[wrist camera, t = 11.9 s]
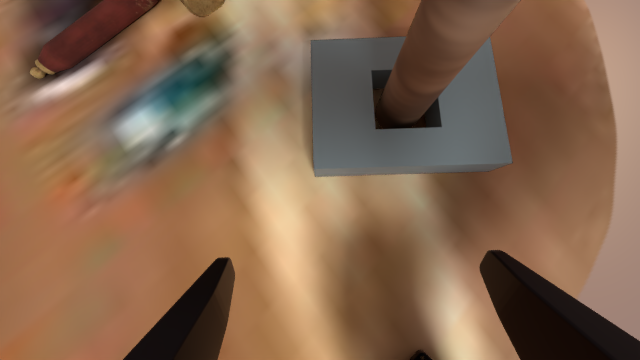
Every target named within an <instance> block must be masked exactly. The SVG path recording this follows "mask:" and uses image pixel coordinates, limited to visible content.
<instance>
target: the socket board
mask: <svg viewBox="0 0 640 360" xmlns="http://www.w3.org/2000/svg"><path fill="white" fill-rule="evenodd" d="M405 38H406V37H382V38H357V39H333V40H311V73H312V118H313V163H314V173H315V177H322V176H354V175H387V174H420V173H452V172H485V171H491V170H494V169H497V168H500V167H503V166H506V165H508V164H511V163H513V162H512V156H511V151H510V145H509V140H508V134H507V129H506V123H505V117H504V112H503V106H502V101H501V95H500V90H499V84H498V79H497V73H496V67H495V62H494V56H493V51H492V45H491V40H490V37H489V38H488V39H487V40H486V42H485V43H484V44H483V45H482V46H481V47H480V49H479V50H478V51H477V52H476V53H475V54H474V56H473V57H472V58H471V59H470V60H469V61H468V63H467V64H466V65H465V66H464V67H463V68H462V70H461V71H460V72H459V73H458V74H457V75H456V77H455V78H454V79H453V80H452V81H451V83H450V84H449V85H448V86H447V87H446V88H445V90H444V91H443V92H442V93H441V94H440V95H439V97H438V98H437V99H436V100H435V101H434V102H433V104H432V105H431V106H430V107H429V108H428V109H427V111H426V112H425V122H426V128H402V129H376V128H375V115H374V101H373V89H382V88H385V86H386V84H387V81H388V79H389V76H390V74H391V72H392V69H393V67H394V64H395V62H396V60H397V57H398V55H399V53H400V50H401V48H402V45H403V43H404V41H405Z"/></svg>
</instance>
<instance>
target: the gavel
mask: <svg viewBox="0 0 640 360" xmlns="http://www.w3.org/2000/svg"><path fill="white" fill-rule="evenodd" d="M157 2H158V0H103V1H102V2H101V3H99V4H98V5H97V6H95V7H94V8H93V9H91V10H90V11H89V12H87V13H86V14H85V15H83V16H82V17H81V18H79V19H78V20H77V21H75V22H74V23H73V24H71V25H70V26H69V27H67V28H66V29H65V30H63V31H62V32H61V33H60V34H58V35H57V36H56V37H54V38H53V39H52V40H50V41H49V42H48V43H46V44H45V45H44V46H43V49H42V51H41V53H40V55H39V58H38V59H37V60H36V61H35V64H36V65H37V67H34V68H32V69H31V70H30V73H31V74H32V75H33V76H34V77H36V78H43V77H45V75H46V73H48V74H55V73H56V72H60V71H63V70H67V69H70V68H73V67H74V66H75V65H77V64H78V63H80V62H81V61H82V60H84V59H85V58H86V57H88V56H89V55H90V54H92V53H93V52H94V51H96V50H97V49H98V48H100V47H101V46H102V45H104V44H105V43H106V42H107V41H109V40H110V39H111V38H113V37H114V36H115V35H117V34H118V33H119V32H121V31H122V30H123V29H124V28H126V27H127V26H128V25H130V24H131V23H132V22H134V21H135V20H136V19H138V18H139V17H140V16H141V15H143V14H144V13H145V12H147V11H148V10H149V9H151V8H152V7H153V6H154V5H155V4H156V3H157ZM181 2H182V3H183V4H184V5H185V6H186V7H187V9H188V10H189V11H190V12H191V13H193V14H194V15H196V16H199V17H205V16H208V15H209V14H211V13H212V12H214V11H215V10H217V9H218V8H220V7H221V6H222V4H223V3H224V0H181Z"/></svg>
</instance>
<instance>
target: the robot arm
mask: <svg viewBox="0 0 640 360" xmlns="http://www.w3.org/2000/svg"><path fill="white" fill-rule="evenodd" d="M480 273H481V275H482V278H483V280H484V283H485V285H486V288H487V290H488V293H489V295H490V298H491V300H492V303H493V305H494V308H495V310H496V312H497V315H498V317H499V319H500V321H501V323H502V325H503V327H504V329H505V331H506V333H507V335H508V336H509V338H510V340H511V342H512V344H513V346H514V348H515V350H516V352H517V354H518V356H519V358H520V360H640V341H639V340H637V339H636V338H634V337H633V336H631V335H629V334H628V333H627V332H625V331H623V330H622V329H620V328H619V327H617V326H616V325H614V324H613V323H611V322H610V321H608V320H607V319H605V318H604V317H602V316H601V315H599V314H598V313H596V312H595V311H593V310H592V309H590V308H589V307H587V306H585V305H584V304H582V303H581V302H579V301H578V300H576V299H575V298H573V297H572V296H570V295H569V294H567V293H566V292H564V291H563V290H561V289H560V288H558V287H557V286H555V285H554V284H552V283H551V282H549V281H548V280H546V279H544V278H543V277H541V276H540V275H538V274H537V273H535V272H534V271H532V270H531V269H529V268H528V267H526V266H525V265H523V264H522V263H520V262H519V261H517V260H516V259H514V258H513V257H511V256H510V255H508V254H507V253H505V252H503V251H501V250H489V251H487V253H486V254H485V256H484V258H483V260H482V262H481V263H480ZM234 281H235V271H234V268H233V264H232V261H231V259H230V258H228V257H224V258H217V259H216V260H215V261H214V262H213V263H212V264H211V265H210V266H209V267H208V268H207V270H206V271H205V272H204V273H203V274H202V275H201V276H200V277H199V278H198V279H197V280H196V281H195V282H194V284H193V285H192V286H191V287H190V288H189V289H188V290H187V291H186V292H185V293H184V294H183V295H182V296H181V298H180V299H179V300H178V301H177V302H176V303H175V304H174V305H173V306H172V307H171V308H170V309H169V310H168V311H167V313H166V314H165V315H164V316H163V317H162V318H161V319H160V320H159V321H158V322H157V323H156V324H155V325H154V327H153V328H152V329H151V330H150V331H149V332H148V333H147V334H146V335H145V336H144V337H143V338H142V339H141V341H140V342H139V343H138V344H137V345H136V346H135V347H134V348H133V349H132V350H131V351H130V352H129V353H128V354H127V356H126V357H125V358H124V359H123V360H218V356H219V353H220V349H221V345H222V342H223V338H224V334H225V331H226V327H227V323H228V317H229V311H230V305H231V299H232V293H233V287H234ZM421 356H424V360H432V359H431V358H430V357H429V356H428V354H427V353H426V352H424V351H422V350H419V351H417V352H416V353H415V354H414V355H413V357H412V358H411V359H410V360H420V357H421Z"/></svg>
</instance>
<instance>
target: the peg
mask: <svg viewBox="0 0 640 360" xmlns="http://www.w3.org/2000/svg"><path fill="white" fill-rule="evenodd" d="M520 1H521V0H421V3H420V5H419V7H418V10H417V12H416V14H415V17H414V19H413V22H412V24H411V26H410V29H409V31H408V33H407V36H406V38H405V41H404V43H403V45H402V48H401V50H400V53H399V55H398V57H397V60H396V62H395V64H394V67H393V69H392V72H391V74H390V76H389V79H388V81H387V84H386V86H385V88H384V91H383V93H382V95H381V98H380V100H379V103H378V105H377V107H376V111H375V117H376V120H377V123H378V124H379V126H380V127H381V128H382V129H402V128H412V127H413V126H414V125H415V123H416V122H417V121H418V120H419V119H420V118H421V116H422V115H423V114H424V113H425V112H426V111H427V109H428V108H429V107H430V106H431V105H432V104H433V102H434V101H435V100H436V99H437V98H438V97H439V95H440V94H441V93H442V92H443V91H444V90H445V88H446V87H447V86H448V85H449V84H450V83H451V81H452V80H453V79H454V78H455V77H456V75H457V74H458V73H459V72H460V71H461V70H462V68H463V67H464V66H465V65H466V64H467V63H468V61H469V60H470V59H471V58H472V57H473V56H474V54H475V53H476V52H477V51H478V50H479V49H480V47H481V46H482V45H483V44H484V43H485V42H486V40H487V39H488V38H489V37H490V36H491V35H492V33H493V32H494V31H495V30H496V29H497V27H498V26H499V25H500V24H501V23H502V22H503V20H504V19H505V18H506V17H507V16H508V15H509V13H510V12H511V11H512V10H513V9H514V8H515V6H516V5H517V4H518V3H519V2H520Z"/></svg>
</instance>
